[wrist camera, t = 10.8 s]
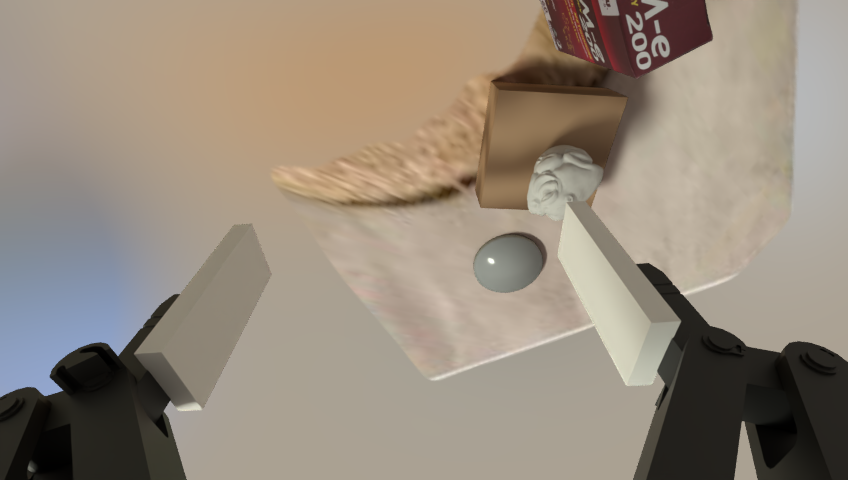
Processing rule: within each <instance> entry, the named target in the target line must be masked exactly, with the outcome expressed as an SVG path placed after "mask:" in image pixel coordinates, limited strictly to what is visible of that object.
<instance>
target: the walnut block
mask: <svg viewBox="0 0 848 480" xmlns="http://www.w3.org/2000/svg"><path fill="white" fill-rule="evenodd" d="M627 100H628V97H626V96H624V95H621V94H619V93H617V92H615V91H612V90H610V89H608V88H596V87H580V86H563V85H546V84H529V83H512V82H495V81H491V83H490V90H489V97H488V104H487V111H486V118H485V125H484V132H483V139H482V146H481V153H480V160H479V166H478V173H477V180H476V187H475V191H476V195H477V198H478V201H479V204H480V207H481V208H497V209H520V210H529V209H528V201H527V194H528V190H529V184H530V181H531V179H530V178H531V176H532V174H534V167H535V164H536V161H537V160H538V158H539V157H540V156H541V155H542V154H543V153H544V152H545V151H546V150H548V149H550V148H552V147H554V146H558V145H569V146H573V147H576V148H580V149H583V150H584V151H585V152H586V153H587V154H588V155H589V156H590V157H591V158H592V160H593V161H592V164H596V165H598V166H600V167H602V168H603V171H604V168H605V165H606V162H607V159H608V156H609V153H610V150H611V147H612V144H613V141H614V138H615V135H616V132H617V129H618V126H619V123H620V120H621V117H622V114H623V111H624V109H625V106H626V103H627ZM596 191H597V189H596V190H595V191H594V192H593V194H592V195H591V196H590V198H588V199H587V200H586V202H587V204H588V205H589V206H590V207H591V206H592V203H593V200H594V197H595V194H596Z"/></svg>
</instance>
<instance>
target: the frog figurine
mask: <svg viewBox="0 0 848 480" xmlns="http://www.w3.org/2000/svg"><path fill="white" fill-rule="evenodd" d="M592 161H593V160H592V158H591V157H590V156H589V155H588V154H587V153H586V152H585V151H584V150H583V149H580V148H576V147H573V146H569V145H558V146H554V147H552V148H550V149H548V150H546V151H545V152H544V153H543V154H542V155H541V156H540V157H539V158H538V160H537V161H536V164H535V167H534V174H532V176H531V178H530V179H531V181H530V184H529V190H528V194H527V201H528V209H529V211H530V212H531V213H532V214H538V215H541V216H544V215H546V214H547V216H548V217H549V218H550V219H552V220H554V221H561V220H564V214H565V208H566V202H577V201H586V200H587V199H588V198H590V196H591V195H592V194H593V192H594V191H595V190H596V189H597V188H598V186H599V185H600V183H601V181H602V177H603V168H602V167H600V166H598V165H596V164H592Z"/></svg>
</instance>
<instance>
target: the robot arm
mask: <svg viewBox="0 0 848 480" xmlns="http://www.w3.org/2000/svg"><path fill="white" fill-rule="evenodd" d="M558 258H559V260H560V262H561V263H562V265H563V267H564V269H565V271H566V273H567V275H568V277H569V279H570V280H571V282H572V284H573V286H574V288H575V290H576V292H577V294H578V296H579V297H580V299H581V301H582V303H583V305H584V307H585V309H586V311H587V313H588V314H589V316H590V318H591V320H592V322H593V324H594V326H595V328H596V330H597V332H598V333H599V335H600V337H601V339H602V341H603V343H604V345H605V347H606V348H607V350H608V352H609V354H610V356H611V358H612V360H613V362H614V364H615V366H616V367H617V369H618V371H619V373H620V375H621V377H622V379H623V380H624V383H625V384H626V386H637V385H638V386H639V385H652V384H653V381H654V379H655V377H656V375H657V373H659V375H660V376H661V378H662V379H663V381H664V383H665V386H664V388H663V389H662V392H661V394H660V396H659V398H658V400H657V402H656V404H655V405H656V406H657V408H656V411H655V414H654V417H653V420H652V423H651V426H650V429H649V432H648V435H647V438H646V441H645V444H644V447H643V451H642V454H641V457H640V460H639V463H638V466H637V469H636V472H635V475H634V478H633V480H734V476H735V468H736V460H737V453H738V445H739V437H740V430H741V422H742V421H745V426H746V430H747V434H748V439H749V443H750V448H751V452H752V456H753V461H754V465H755V469H756V474H757V478H758V480H848V362H847V361H845V360H844V359H843V358H842V357H840V356H839V355H838V354H836V353H834V352H832V351H830V350H828V349H826V348H824V347H821V346H819V345H815V344H812V343H808V342H800V341H798V342H792V343H789V344H788V345H787V346H786V347H785V348H784V349H783V351H782V352H781V353H779V352H773V351H768V350H762V349H757V348H751V347H747V346H746V345H745V344H744V343H743V342H742V341H741V340H740V339H739V338H737V337H736V336H735V335H733V334H731V333H729V332H727V331H725V330H723V329H719V328H716V327H712V326H709V324H708V323H707V322H706V321H705V320H704V319H703V317H702V316H701V315H700V314H699V313H698V312H697V311H696V309H695V308H694V307H693V306H692V305H691V304H690V303H689V301H688V300H687V299H686V298H685V297H684V296H683V295H682V294H680V291H679V290H678V289H677V288H676V287H675V285H673V284H672V282H671V281H670V280H669V279H668V277H667V276H666V275H665V274H664V273H663V272H662V271H660V270H659V269H657V268H656V267H654V266H652V265H651V264H649V263H644V264H635V263H634V261H633V260H632V259H631V258H630V256H629V255H628V254H627V253H626V251H625V250H624V249H623V248H622V246H621V245H620V244H619V243H618V241H617V240H616V239H615V238H614V236H613V235H612V234H611V233H610V231H609V230H608V229H607V228H606V226H605V225H604V224H603V223H602V221H601V220H600V219H599V217H598V216H597V215H596V214H595V212H594V211H593V210H592V209H591V207H590V206H589V205H588V204H587V202H586V201H577V202H566V208H565V214H564V220H563V226H562V232H561V238H560V244H559V250H558ZM270 277H271V272H270V269H269V267H268V264H267V261H266V259H265V256H264V253H263V251H262V248H261V246H260V243H259V241H258V238H257V236H256V233H255V230H254V228H253V225H252V224H242V225H234V226H233V227H232V228H231V229H230V231H229V232H228V233H227V235H226V236H225V237H224V238H223V240H222V241H221V242H220V244H219V245H218V246H217V248H216V249H215V250H214V252H213V253H212V254H211V255H210V256H209V258H208V259H207V260H206V262H205V263H204V264H203V266H202V267H201V268H200V269H199V271H198V272H197V274H196V275H195V276H194V277H193V278H192V280H191V281H190V282H189V284H188V285H187V286H186V288H185V289H184V290H183V291H182V293H181V294H175V295H173V296H171V297H170V298H169V299H168V300H166V301H165V302H163V303H162V304H161V305H160V306H159V307H158V308H157V309H156V311H155V312H154V313H153V314H152V315H151V319H148V320H147V322H146V323H145V324H144V325H143V328H142V329H140V330H139V331H138V333H137V334H136V335H135V336H134V338H133V339H132V340H131V341H130V342H129V344H128V345H127V346H126V347H125V349H124V350H123V351H122V352H121V353H120V355H119V356H117V355H116V354H115V352H114V351H113V350H112V349H111V348H110V346H109V345H108V344H106V343H101V342H100V343H93V344H89V345H86V346H83V347H81V348H78V349H77V350H75V351H73V352H71V353H69V354H68V355H67V356H65V357H64V358H63V359H62V360H60V361H59V362H58V363H57V364H56V366H55V367H54V368H53V369H52V371H51V374H50V378H51V379H52V380H54V382H55V383H56V384H58V386H59V387H60V388H62V389H63V390H64V391H61V392H58V393H55V394H52V395H48V396H44V395H42V394H41V393H40V392H39V391H38V390H37V389H36V388H31V387H26V388H22V389H18V390H15V391H13V392H10V393H9V394H6V395H4V396H2V397H0V480H187V479H186V476H185V473H184V469H183V466H182V462H181V459H180V456H179V452H178V449H177V446H176V442H175V439H174V436H173V433H172V429H171V425H170V422H169V419H168V417H167V415H166V414H165V413H164V412H163V411H164V409H165V408H166V406H167V404H168V403H169V401H171V402H172V403H173V404H174V406H175V407H176V408H177V410H178V411H190V410H203V408H204V406H205V404H206V402H207V400H208V398H209V396H210V394H211V392H212V391H213V389H214V387H215V385H216V383H217V380H218V379H219V377H220V375H221V373H222V371H223V369H224V367H225V365H226V363H227V361H228V359H229V357H230V355H231V353H232V351H233V349H234V347H235V345H236V343H237V341H238V340H239V337H240V336H241V334H242V332H243V330H244V328H245V326H246V324H247V322H248V320H249V318H250V316H251V314H252V312H253V310H254V308H255V306H256V304H257V302H258V300H259V298H260V296H261V294H262V292H263V290H264V288H265V286H266V285H267V283H268V281H269V279H270Z"/></svg>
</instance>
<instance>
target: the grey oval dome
mask: <svg viewBox="0 0 848 480" xmlns="http://www.w3.org/2000/svg"><path fill="white" fill-rule="evenodd" d="M542 265H543V258H542V254H541V252H540V250H539V248H538V247H537V245H536V244H535V243H534V242H533V241H532V240H530V239H529V238H527V237H524V236H521V235H513V234H510V235H502V236H499V237H496V238H493V239H491V240H490V241H488V242H487V243H485V244H484V245H483V246H482V247H481V248H480V249H479V251H478V252H477V254H476V256H475V259H474V272H475V276H476V278H477V280H478V281H479V283H480V284H481V285H482V286H484V287H485V288H487V289H489V290H491V291H495V292H500V293H507V292H514V291H517V290H520V289H523V288H525V287H526V286H528V285H529V284H531V283H532V282H533V281H534V280H535V279H536V278H537V277H538V275H539V273H540V271H541V269H542Z"/></svg>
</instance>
